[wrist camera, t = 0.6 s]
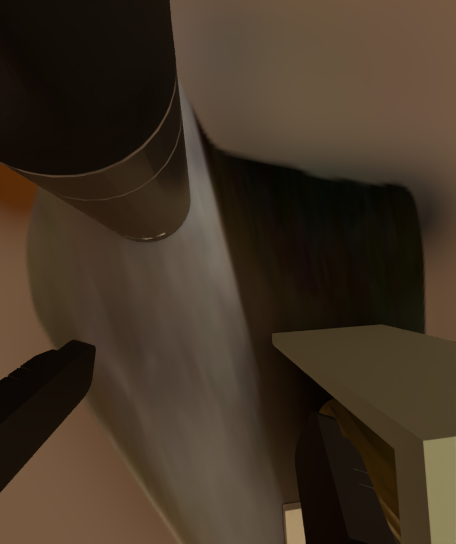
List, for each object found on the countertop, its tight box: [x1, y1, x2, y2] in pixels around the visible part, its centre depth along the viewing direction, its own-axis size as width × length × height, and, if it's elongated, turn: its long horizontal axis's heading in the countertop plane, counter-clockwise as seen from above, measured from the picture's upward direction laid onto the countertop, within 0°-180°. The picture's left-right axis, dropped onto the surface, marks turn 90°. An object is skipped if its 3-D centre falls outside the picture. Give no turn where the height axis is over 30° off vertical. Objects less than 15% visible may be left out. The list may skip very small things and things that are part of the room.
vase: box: [318, 398, 402, 544], centre depth 22 cm, size 6×6×14 cm
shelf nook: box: [272, 324, 456, 544], centre depth 19 cm, size 14×13×20 cm
